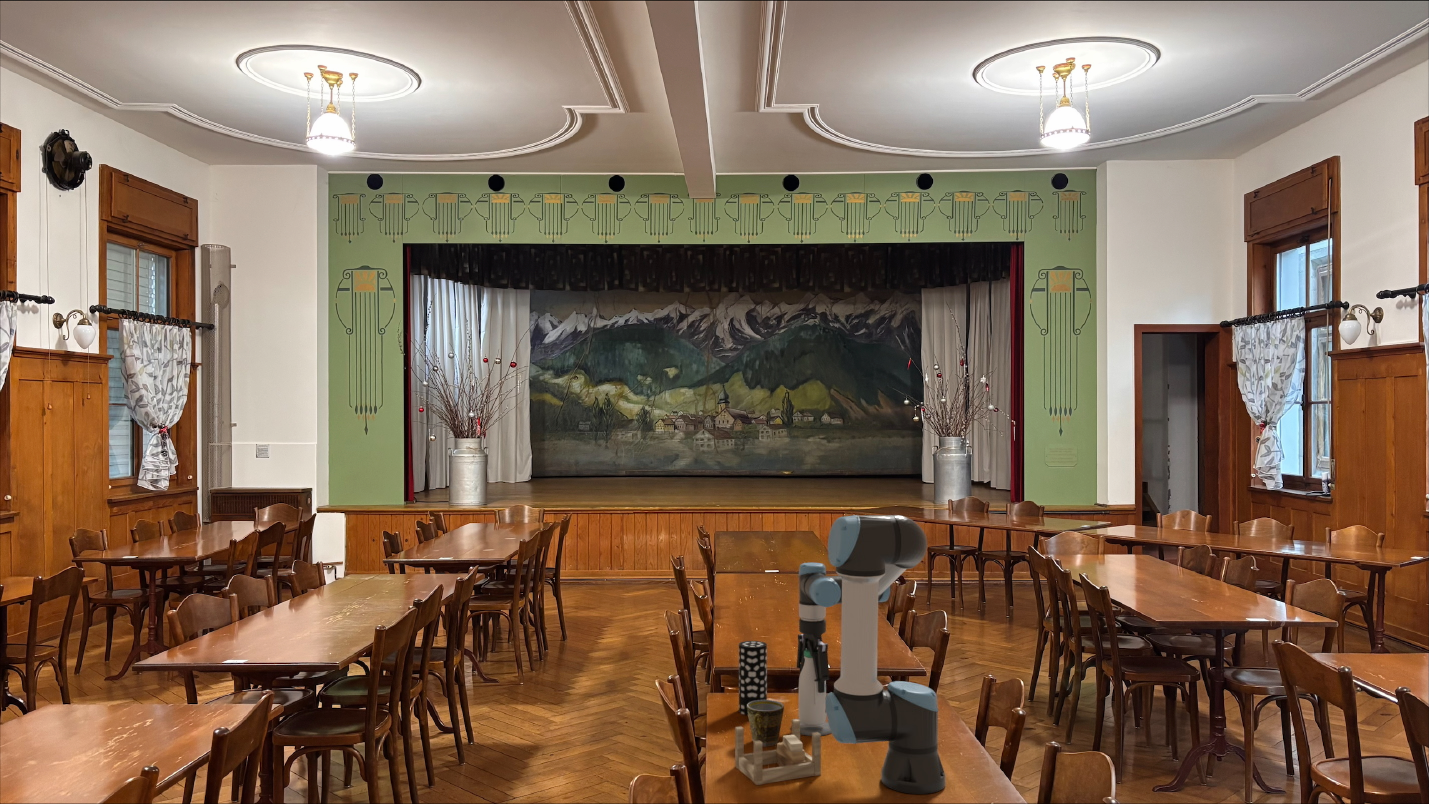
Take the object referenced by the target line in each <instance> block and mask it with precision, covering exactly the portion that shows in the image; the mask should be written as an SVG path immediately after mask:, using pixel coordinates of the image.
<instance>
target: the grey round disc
mask: <svg viewBox="0 0 1429 804" xmlns="http://www.w3.org/2000/svg"><path fill="white" fill-rule="evenodd" d="M790 729H791V730H792V725H791V728H790ZM815 732H818V733H820V734H821V737H823V736H827V735H831V734H832V732H831V730H830V726H829V723H828V721H826V722H825V723H824V724H821V725H806V724H803V723H801V722H800V736H801V735H802V736H807V737H812V733H815Z"/></svg>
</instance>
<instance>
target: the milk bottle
mask: <svg viewBox="0 0 1429 804" xmlns="http://www.w3.org/2000/svg"><path fill="white" fill-rule="evenodd" d="M814 653H818V652H814ZM804 658H805V663H804V666H803V669H802V671H801V672H799V673H800V674H799V678H798V720H800V722H801V723H803V724H806V725H821V724H824V723H825V722H827V714H826V705H825V704H817V705H816V704H815V681H814V680H815V679H816V674H815V668H814V663H813V657H812V656H811V655H810V651H809V650H807V649H806V650H805V651H804ZM826 683H827V680H825V700H826V695H827V684H826Z"/></svg>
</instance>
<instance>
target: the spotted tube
mask: <svg viewBox="0 0 1429 804" xmlns="http://www.w3.org/2000/svg"><path fill="white" fill-rule="evenodd" d="M767 647H768V645H767V643H766V642H764V641H761V640H760V641H759V640H758V641H757V640H747V641H746V640H745V641H741V642H739V643H738V712H739V713H740V714H741V715H746V716H748V711H747V704H748V703H750V702H752V701H757V700H768V692H767V691H768V668H767V667H768V663H767V662H768V659H767V658H768V651H767V650H768V649H767Z"/></svg>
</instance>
